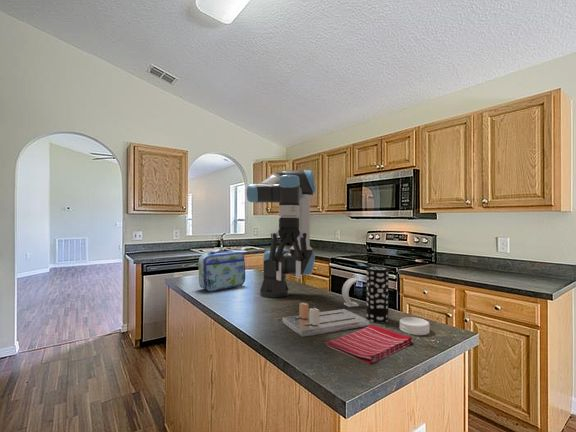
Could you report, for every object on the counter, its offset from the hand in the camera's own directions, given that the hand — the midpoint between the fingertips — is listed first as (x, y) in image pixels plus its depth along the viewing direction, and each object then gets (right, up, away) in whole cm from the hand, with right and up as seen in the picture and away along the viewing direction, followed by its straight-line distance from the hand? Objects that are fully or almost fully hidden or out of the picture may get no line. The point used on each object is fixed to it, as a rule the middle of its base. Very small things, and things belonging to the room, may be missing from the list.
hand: (288, 279), depth 117 cm
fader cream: (+9, -15, -5) cm, 18 cm away
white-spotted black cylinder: (+35, -18, +8) cm, 40 cm away
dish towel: (+26, -18, -17) cm, 36 cm away
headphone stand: (+28, -18, +28) cm, 44 cm away
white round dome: (+45, -18, -4) cm, 49 cm away
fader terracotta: (+6, -15, +3) cm, 16 cm away
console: (+14, -17, +2) cm, 22 cm away
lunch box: (-37, -18, +61) cm, 74 cm away
